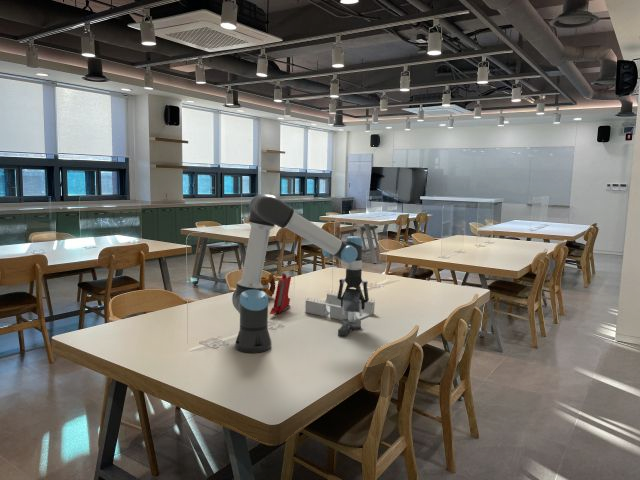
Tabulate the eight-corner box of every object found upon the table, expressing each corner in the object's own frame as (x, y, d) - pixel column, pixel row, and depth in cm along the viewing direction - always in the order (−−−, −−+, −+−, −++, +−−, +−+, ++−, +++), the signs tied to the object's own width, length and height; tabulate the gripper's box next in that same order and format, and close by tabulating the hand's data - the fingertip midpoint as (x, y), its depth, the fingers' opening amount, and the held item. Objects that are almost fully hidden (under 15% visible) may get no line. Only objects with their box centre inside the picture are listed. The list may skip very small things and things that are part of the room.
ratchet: (351, 337, 216) (351, 320, 215) (332, 334, 219) (333, 317, 218) (362, 325, 234) (363, 310, 233) (345, 323, 237) (346, 307, 236)
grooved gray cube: (362, 300, 234) (361, 289, 228) (359, 312, 228) (358, 302, 223) (347, 298, 236) (346, 288, 230) (344, 310, 231) (342, 300, 225)
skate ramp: (374, 314, 256) (375, 294, 255) (347, 325, 234) (348, 303, 233) (328, 304, 273) (328, 286, 272) (299, 314, 252) (300, 294, 250)
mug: (247, 299, 281) (247, 274, 279) (269, 295, 292) (270, 271, 290) (257, 302, 273) (257, 277, 271) (280, 299, 284) (280, 274, 282)
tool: (278, 314, 242) (286, 267, 250) (268, 313, 243) (276, 266, 251) (289, 322, 265) (296, 279, 272) (279, 321, 266) (287, 278, 274)
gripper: (376, 269, 228) (375, 315, 230) (335, 265, 235) (334, 310, 238) (372, 271, 221) (371, 319, 223) (330, 268, 228) (329, 314, 231)
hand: (352, 314), depth 230 cm, fingers closed on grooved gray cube, 8 cm apart
